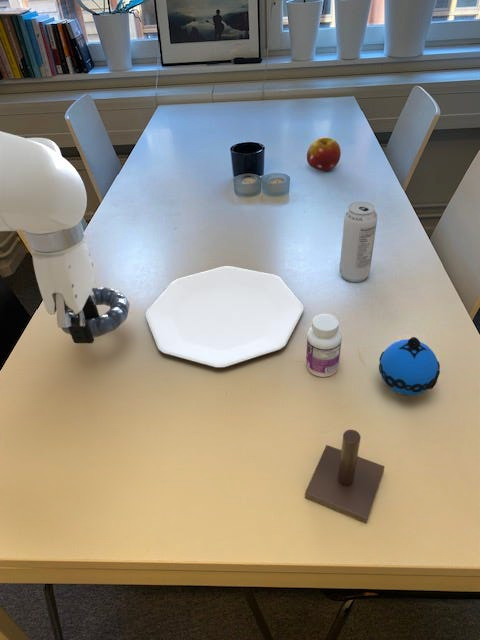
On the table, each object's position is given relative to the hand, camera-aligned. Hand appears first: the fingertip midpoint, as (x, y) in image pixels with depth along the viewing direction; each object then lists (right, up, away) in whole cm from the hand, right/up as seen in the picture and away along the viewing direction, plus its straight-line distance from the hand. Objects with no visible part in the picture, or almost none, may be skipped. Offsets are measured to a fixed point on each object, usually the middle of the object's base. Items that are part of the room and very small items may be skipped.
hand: (87, 332), depth 79 cm
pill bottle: (+38, -6, +1) cm, 38 cm away
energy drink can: (+48, +11, +20) cm, 53 cm away
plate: (+22, +3, +12) cm, 25 cm away
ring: (0, +3, +3) cm, 4 cm away
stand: (+38, -19, -16) cm, 46 cm away
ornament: (+50, -8, -3) cm, 51 cm away
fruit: (+48, +45, +61) cm, 90 cm away
